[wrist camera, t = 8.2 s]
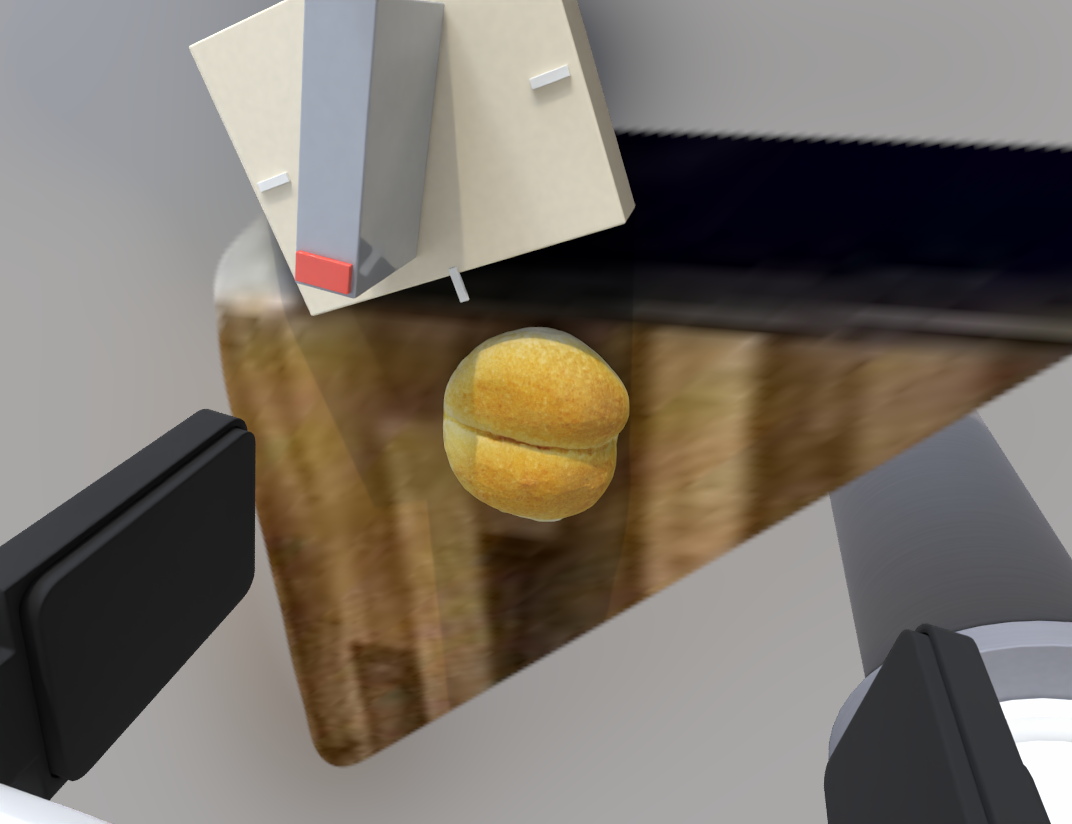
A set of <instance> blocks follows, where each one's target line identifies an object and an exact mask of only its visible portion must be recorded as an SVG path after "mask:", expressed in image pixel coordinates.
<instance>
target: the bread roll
mask: <svg viewBox="0 0 1072 824" xmlns="http://www.w3.org/2000/svg"><path fill="white" fill-rule="evenodd" d="M443 406H444V418H443V439H444V447H445V451H446V454H447V457H448V460H449V463H450V466H451V469H452V470H453V472H454V474H455V476H456V477H457V479H458V480H459V481H460V483H461V484H462V486H463V487H464V489H466V490H467V491H468V492H470V493H471V494H472V495H473V496H474V497H476V498H477V499H479V500H481V501H482V502H484V503H486V504H488V505H490V506H491V507H493V508H496V509H499V510H500V511H501V512H507V513H510V514H512V515H517V516H520V517H523V518H529V519H533V520H535V521H541V522H545V521H546V522H553V521H559V520H561V519H562V518H566V517H569V516H573V515H575V514H578V513H580V512H583V511H585V510H587V509H588V508H590V507H591V506H592V505H594V504H595V503H596V502H597V501H598V499H599V498H600V497H601V496H602V495H603V493H604V492H605V490H606V489H607V487H608V485H609V484H610V482H611V480H612V478H613V475H614V471H615V467H616V457H617V446H616V444H617V439H618V434H619V433H620V432H621V431H622V429H623V428H624V426H625V424H626V423H627V420H628V417H629V397H628V393H627V390H626V388H625V386H624V384H623V383H622V381H621V380H620V378H619V377H618V375H617V374H616V373H615V372H614V371H613V369H612V368H611V367H610V366H609V365H608V364H607V363H606V362H605V361H604V360H603V359H602V357H601V356H600V355H599V354H598V353H596V352H595V351H594V350H592V349H591V348H590V347H589V346H587V345H586V344H585V343H583V342H582V341H581V340H579V339H577V338H576V337H574V336H572V335H571V334H569V333H566V332H563V331H559V330H556V329H552V328H547V327H527V328H522V329H518V330H514V331H509V332H505V333H502V334H499V335H497V336H495V337H493V338H489V339H488V340H486V341H484V342H483V343H481V344H480V345H479V346H477V347H475V348H474V350H473V351H472V352H471V353H470V354H469V355H468V356H467V357H465V358H464V359H463V360H462V361H461V363H460V364H459V365H458V367H457V369H456V370H455V371H454V372H453V374H452V376H451V378H450V380H449V382H448V384H447V387H446V391H445V396H444V404H443Z"/></svg>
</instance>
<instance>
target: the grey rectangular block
mask: <svg viewBox="0 0 1072 824" xmlns="http://www.w3.org/2000/svg"><path fill="white" fill-rule="evenodd" d="M444 7H445V5H444V3H442V2H438V1H433V0H305V2H304V32H303V61H302V90H301V119H300V148H299V177H298V206H297V236H296V265H295V282H296V283H298V284H302V285H305V286H309V287H313V288H316V289H320V290H324V291H327V292H331V293H335V294H338V295H342V296H346V297H349V298H353V299H355V298H357V297H358V296H360V295H361V294H363V293H364V292H366V291H367V290H369V289H370V288H371V287H373V286H374V285H376V284H377V283H379V282H380V281H382V280H383V279H385V278H386V277H388V276H389V275H391V274H392V273H394V272H395V271H397V270H398V269H400V268H401V267H403V266H404V265H406V264H407V263H409V262H410V261H412V260H413V259H415V258H416V254H417V246H418V237H419V228H420V219H421V210H422V201H423V192H424V184H425V175H426V166H427V157H428V148H429V139H430V130H431V122H432V113H433V104H434V95H435V86H436V77H437V69H438V60H439V51H440V42H441V33H442V24H443V15H444Z"/></svg>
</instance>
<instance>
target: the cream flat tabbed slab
mask: <svg viewBox="0 0 1072 824" xmlns="http://www.w3.org/2000/svg"><path fill="white" fill-rule="evenodd" d="M433 1H438V2H442V3H444V5H445V7H444V15H443V24H442V33H441V42H440V51H439V60H438V69H437V77H436V86H435V95H434V104H433V113H432V122H431V130H430V139H429V148H428V157H427V166H426V175H425V184H424V192H423V201H422V210H421V219H420V228H419V237H418V246H417V254H416V258H415V259H413V260H412V261H410V262H409V263H407V264H406V265H404V266H403V267H401V268H400V269H398V270H397V271H395V272H394V273H392V274H391V275H389V276H388V277H386V278H385V279H383V280H382V281H380V282H379V283H377V284H376V285H374V286H373V287H371V288H370V289H369V290H367V291H366V292H364V293H363V294H361V295H360V296H358V297H357V298H355V299H353V298H349V297H346V296H342V295H338V294H335V293H331V292H327V291H324V290H320V289H316V288H313V287H309V286H305V285H302V284H298V283H297V285H298V287H299V290H300V292H301V294H302V296H303V298H304V300H305V303H306V305H307V307H308V309H309V311H310V314H311V315H312V316H316V315H319V314H323V313H326V312H329V311H333V310H336V309H339V308H343V307H346V306H350V305H353V304H356V303H360V302H363V301H366V300H370V299H373V298H377V297H380V296H383V295H387V294H390V293H393V292H397V291H400V290H404V289H407V288H410V287H414V286H417V285H420V284H424V283H427V282H431V281H434V280H437V279H441V278H444V277H447V276H451V279H452V281H453V284H454V287H455V289H456V292H457V294H458V297H459V300H460V302H465V301H468V300H469V296H468V294H467V291H466V289H465V286H464V283H463V281H462V278H461V275H460V273H461V272H464V271H468V270H471V269H474V268H478V267H481V266H485V265H488V264H491V263H495V262H498V261H501V260H505V259H508V258H511V257H515V256H518V255H522V254H525V253H528V252H532V251H535V250H538V249H542V248H545V247H549V246H552V245H555V244H559V243H562V242H565V241H569V240H572V239H576V238H579V237H582V236H586V235H589V234H592V233H596V232H599V231H603V230H606V229H609V228H613V227H616V226H619V225H623V224H625V223H626V221H627V220H628V218H629V217H630V215H631V213H632V212H633V210H634V209H635V204H634V200H633V197H632V193H631V189H630V186H629V182H628V179H627V175H626V172H625V168H624V165H623V161H622V158H621V154H620V150H619V147H618V143H617V140H616V136H615V133H614V129H613V126H612V122H611V119H610V115H609V111H608V108H607V104H606V101H605V97H604V94H603V90H602V87H601V83H600V80H599V76H598V72H597V69H596V65H595V62H594V58H593V55H592V51H591V48H590V45H589V41H588V37H587V33H586V30H585V27H584V23H583V19H582V16H581V12H580V9H579V5H578V2H577V0H433ZM304 2H305V0H284V1H282V2H280V3H278V4H276V5H274V6H271V7H269V8H267V9H265V10H263V11H261V12H259V13H257V14H255V15H253V16H251V17H249V18H246V19H244V20H242V21H240V22H238V23H236V24H234V25H232V26H230V27H228V28H226V29H224V30H222V31H219V32H217V33H215V34H213V35H211V36H209V37H207V38H205V39H203V40H201V41H199V42H197V43H194V44H193V45H191V46H189V49H190V52H191V54H192V56H193V58H194V60H195V62H196V65H197V67H198V69H199V71H200V73H201V76H202V77H203V80H204V82H205V84H206V86H207V88H208V91H209V93H210V95H211V97H212V99H213V102H214V104H215V106H216V108H217V110H218V113H219V115H220V117H221V119H222V121H223V124H224V126H225V128H226V130H227V132H228V134H229V137H230V139H231V141H232V143H233V145H234V147H235V150H236V152H237V154H238V156H239V159H240V161H241V163H242V165H243V167H244V169H245V171H246V174H247V176H248V178H249V180H250V183H251V185H252V187H253V189H254V191H255V193H256V195H257V198H258V200H259V202H260V204H261V207H262V209H263V211H264V213H265V215H266V217H267V220H268V222H269V224H270V226H271V228H272V231H273V233H274V235H275V237H276V239H277V241H278V244H279V246H280V248H281V250H282V252H283V255H284V257H285V259H286V261H287V263H288V266H289V268H290V270H291V272H292V274H293V276H294V279H295V265H296V236H297V206H298V177H299V148H300V119H301V90H302V61H303V32H304Z"/></svg>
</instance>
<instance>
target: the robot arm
mask: <svg viewBox="0 0 1072 824" xmlns="http://www.w3.org/2000/svg"><path fill="white" fill-rule="evenodd" d="M254 571H255V437H254V435H253V434H252V433H251V432H248V431H247V426H246V424H245V422H244V421H243V420H242V419H239V418H236V417H233V416H229V415H226V414H222V413H219V412H216V411H213V410H209V409H202V410H200V411H198V412H196V413H195V414H193V415H192V416H190V417H189V418H187V419H186V420H185V421H183V422H182V423H180V424H179V425H177V426H176V427H174V428H173V429H171V430H170V431H168V432H167V433H166V434H164V435H163V436H162V437H160V438H158V439H157V440H155V441H154V442H152V443H151V444H150V445H148V446H147V447H145V448H144V449H142V450H141V451H139V452H138V453H136V454H135V455H133V456H132V457H131V458H129V459H128V460H126V461H125V462H123V463H122V464H120V465H119V466H117V467H116V468H114V469H113V470H112V471H110V472H109V473H107V474H106V475H104V476H103V477H101V478H100V479H99V480H97V481H96V482H94V483H93V484H91V485H90V486H88V487H87V488H86V489H84V490H82V491H81V492H79V493H78V494H76V495H75V496H74V497H72V498H71V499H69V500H68V501H66V502H65V503H63V504H62V505H61V506H59V507H57V508H56V509H55V510H53V511H52V512H50V513H49V514H47V515H46V516H44V517H43V518H42V519H40V520H38V521H37V522H36V523H34V524H33V525H31V526H30V527H28V528H27V529H25V530H24V531H22V532H21V533H19V534H18V535H17V536H15V537H14V538H12V539H11V540H9V541H8V542H7V543H5V544H4V545H2V546H1V547H0V824H112V823H109V822H107V821H104V820H101V819H98V818H96V817H93V816H91V815H88V814H85V813H83V812H80V811H77V810H75V809H71V808H69V807H66V806H63V805H60V804H58V803H55V802H52V801H49V800H50V799H51V798H52V797H53V796H54V795H55V794H56V793H57V791H58V790H59V789H60V788H61V787H62V786H63V785H64V784H65V783H66V782H67V780H71V781H75V780H78V779H80V778H81V777H83V776H84V775H85V774H86V773H87V772H88V771H89V770H90V769H91V768H92V767H93V766H94V765H95V764H96V762H97V761H98V760H99V759H100V758H101V757H102V756H103V755H104V753H105V752H106V751H107V750H108V749H109V748H110V747H111V745H112V744H113V743H114V742H115V741H116V740H117V739H118V738H119V737H120V736H121V734H122V733H123V732H124V731H125V730H126V729H127V728H128V727H129V725H130V724H131V723H132V722H133V721H134V720H135V719H136V718H137V716H138V715H139V714H140V713H141V712H142V711H143V710H144V709H145V707H146V706H147V705H148V704H149V703H150V702H151V701H152V700H153V698H154V697H155V696H156V695H157V694H158V693H159V692H160V691H161V689H162V688H163V687H164V686H165V685H166V684H167V683H168V682H169V681H170V679H171V678H172V677H173V676H174V675H175V674H176V673H177V672H178V670H179V669H180V668H181V667H182V666H183V665H184V664H185V663H186V661H187V660H188V659H189V658H190V657H191V656H192V655H193V654H194V652H195V651H196V650H197V649H198V648H199V647H200V646H201V644H202V643H203V642H204V641H205V640H206V639H207V638H208V636H210V634H211V633H212V632H213V631H214V630H215V629H216V628H217V627H218V626H219V624H220V623H221V622H222V621H223V620H224V619H225V618H226V616H227V615H228V614H229V613H230V612H231V611H232V610H233V609H234V608H235V606H236V605H237V604H238V603H239V602H240V601H241V600H242V599H243V597H244V596H245V595H246V594H247V592H248V590H249V588H250V586H251V584H252V581H253V578H254ZM824 791H825V799H826V808H827V818H828V824H1072V700H1063V699H1048V698H1037V699H1020V700H1009V701H1004V702H999V700H998V698H997V695H996V692H995V690H994V687H993V685H992V682H991V680H990V677H989V675H988V672H987V670H986V667H985V664H984V662H983V659H982V657H981V654H980V652H979V649H978V647H977V644H976V643H975V641H974V639H972V638H971V637H969V636H967V635H963V634H960V633H957V632H953V631H950V630H947V629H943V628H940V627H936V626H933V625H930V624H922V625H920V626H919V627H918V628H917V629H916V630H915V632H914V631H911V630H904V631H903V632H901V634H900V635H899V637H898V638H897V640H896V642H895V644H894V645H893V647H892V649H891V651H890V652H889V654H888V656H887V658H886V659H885V661H884V663H883V665H882V667H881V668H880V670H879V672H878V674H877V675H876V677H875V679H874V681H873V682H872V684H871V686H870V688H869V690H868V691H867V693H866V695H865V697H864V698H863V700H862V702H861V704H860V705H859V707H858V709H857V711H856V713H855V714H854V716H853V718H852V720H851V721H850V723H849V725H848V727H847V728H846V730H845V732H844V734H843V736H842V737H841V739H840V741H839V743H838V744H837V746H836V748H835V750H834V751H833V753H832V755H831V757H830V759H829V761H828V763H827V767H826V771H825V777H824Z"/></svg>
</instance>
